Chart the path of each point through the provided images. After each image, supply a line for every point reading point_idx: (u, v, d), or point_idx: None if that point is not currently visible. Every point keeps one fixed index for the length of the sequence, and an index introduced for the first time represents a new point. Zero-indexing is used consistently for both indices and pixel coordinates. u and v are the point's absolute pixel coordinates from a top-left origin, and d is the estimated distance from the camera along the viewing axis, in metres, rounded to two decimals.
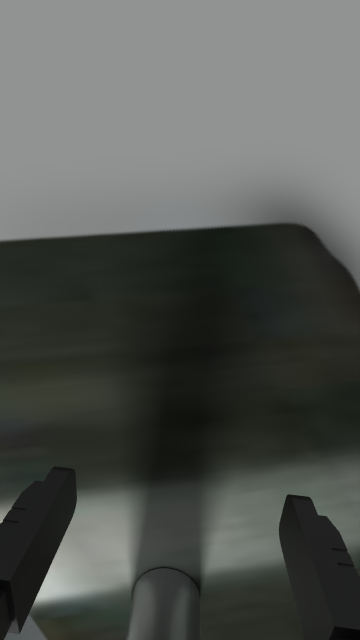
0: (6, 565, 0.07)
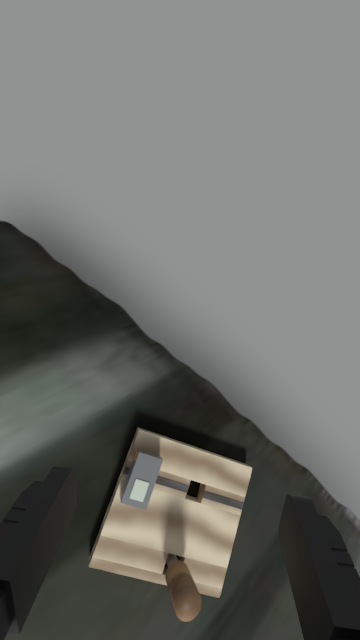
0: (6, 565, 0.07)
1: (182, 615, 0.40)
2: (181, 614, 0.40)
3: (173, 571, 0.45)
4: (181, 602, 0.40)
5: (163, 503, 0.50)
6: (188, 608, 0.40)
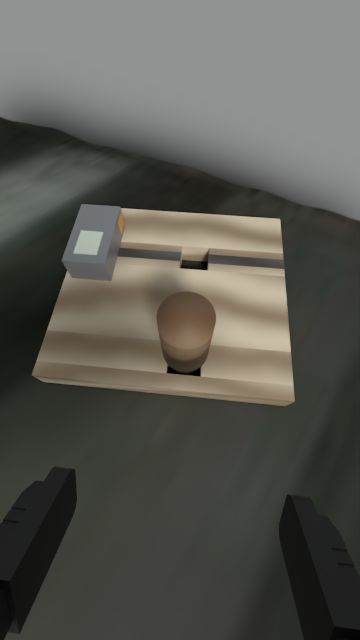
0: (6, 565, 0.07)
1: (177, 334, 0.18)
2: (174, 332, 0.18)
3: None
4: (169, 314, 0.19)
5: (145, 278, 0.31)
6: (188, 322, 0.19)
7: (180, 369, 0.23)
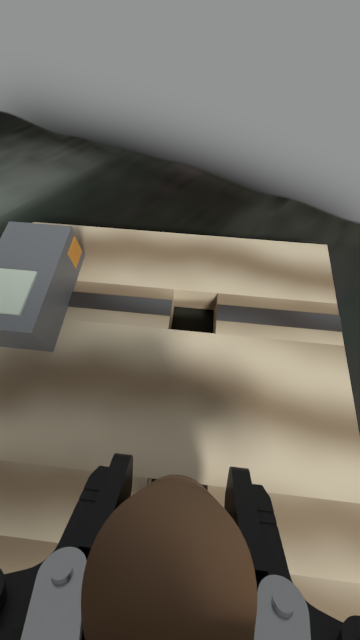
0: (95, 536, 0.08)
1: None
2: None
3: None
4: (121, 573, 0.07)
5: (110, 348, 0.18)
6: (174, 610, 0.06)
7: None
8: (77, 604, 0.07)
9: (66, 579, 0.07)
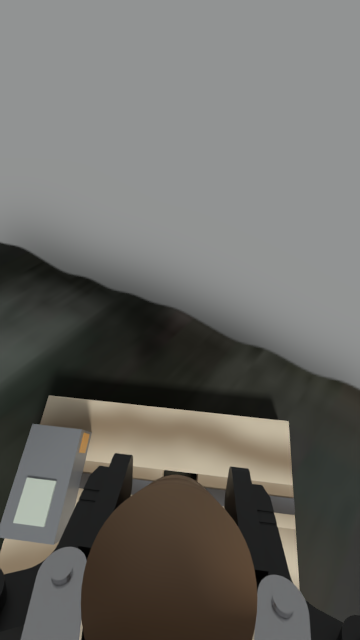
0: (95, 536, 0.08)
1: None
2: None
3: None
4: (121, 573, 0.07)
5: None
6: (173, 611, 0.06)
7: None
8: (77, 604, 0.07)
9: (65, 579, 0.07)
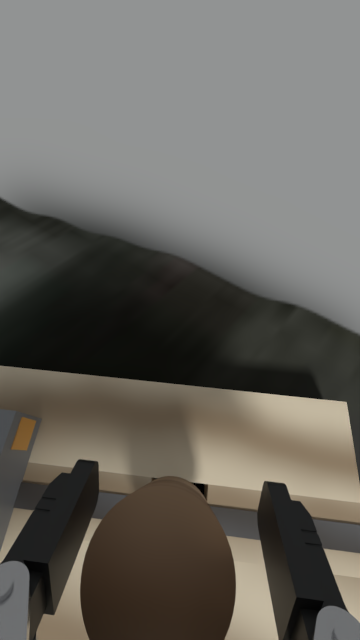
0: (43, 549, 0.08)
1: None
2: (123, 637, 0.07)
3: None
4: (115, 565, 0.07)
5: None
6: (162, 598, 0.07)
7: None
8: (11, 625, 0.06)
9: (6, 595, 0.07)
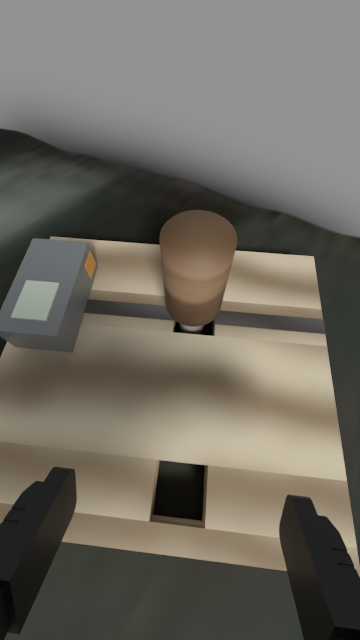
0: (6, 565, 0.07)
1: (186, 257, 0.14)
2: (182, 255, 0.14)
3: None
4: (176, 234, 0.15)
5: (122, 349, 0.21)
6: (200, 244, 0.14)
7: (188, 322, 0.19)
8: None
9: None
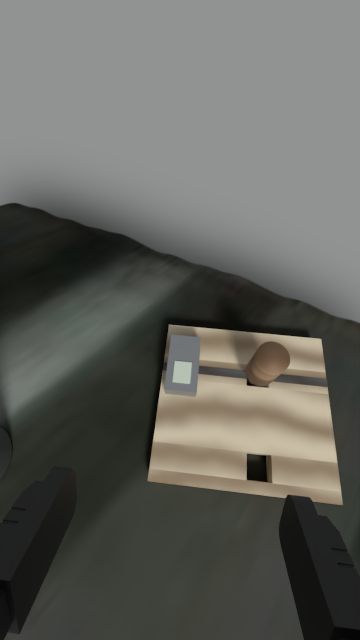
0: (6, 565, 0.07)
1: (269, 367, 0.33)
2: (267, 366, 0.33)
3: (251, 358, 0.38)
4: (263, 355, 0.34)
5: (221, 395, 0.40)
6: (274, 360, 0.33)
7: (259, 385, 0.38)
8: None
9: None
